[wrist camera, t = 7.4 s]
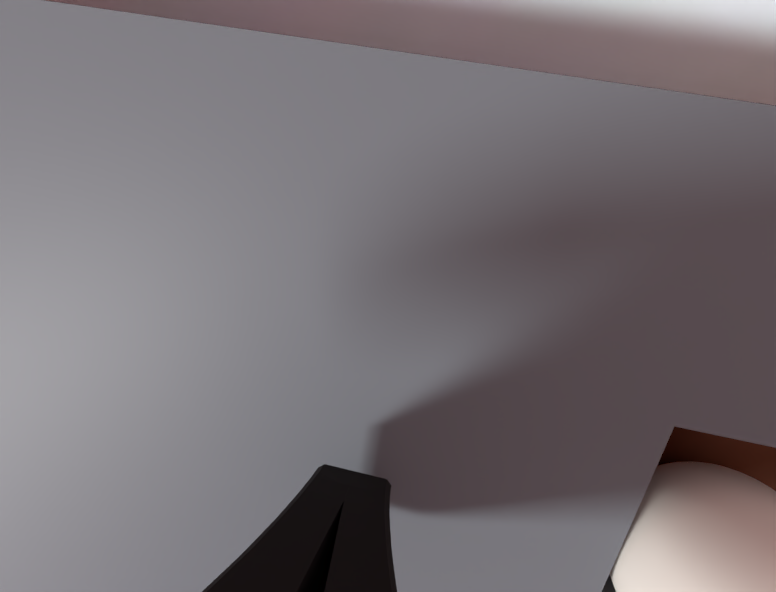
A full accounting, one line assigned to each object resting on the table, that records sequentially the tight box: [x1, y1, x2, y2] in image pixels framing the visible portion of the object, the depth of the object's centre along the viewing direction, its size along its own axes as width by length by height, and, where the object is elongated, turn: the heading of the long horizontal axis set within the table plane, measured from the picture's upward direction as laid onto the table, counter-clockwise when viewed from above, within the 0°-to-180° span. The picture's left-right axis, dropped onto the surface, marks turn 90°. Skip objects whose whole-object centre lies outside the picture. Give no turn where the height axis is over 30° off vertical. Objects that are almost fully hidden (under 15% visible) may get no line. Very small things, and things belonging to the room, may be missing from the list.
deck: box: [0, 0, 776, 592], centre depth 10 cm, size 16×24×2 cm, turn 81°
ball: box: [609, 461, 776, 592], centre depth 9 cm, size 4×4×4 cm
